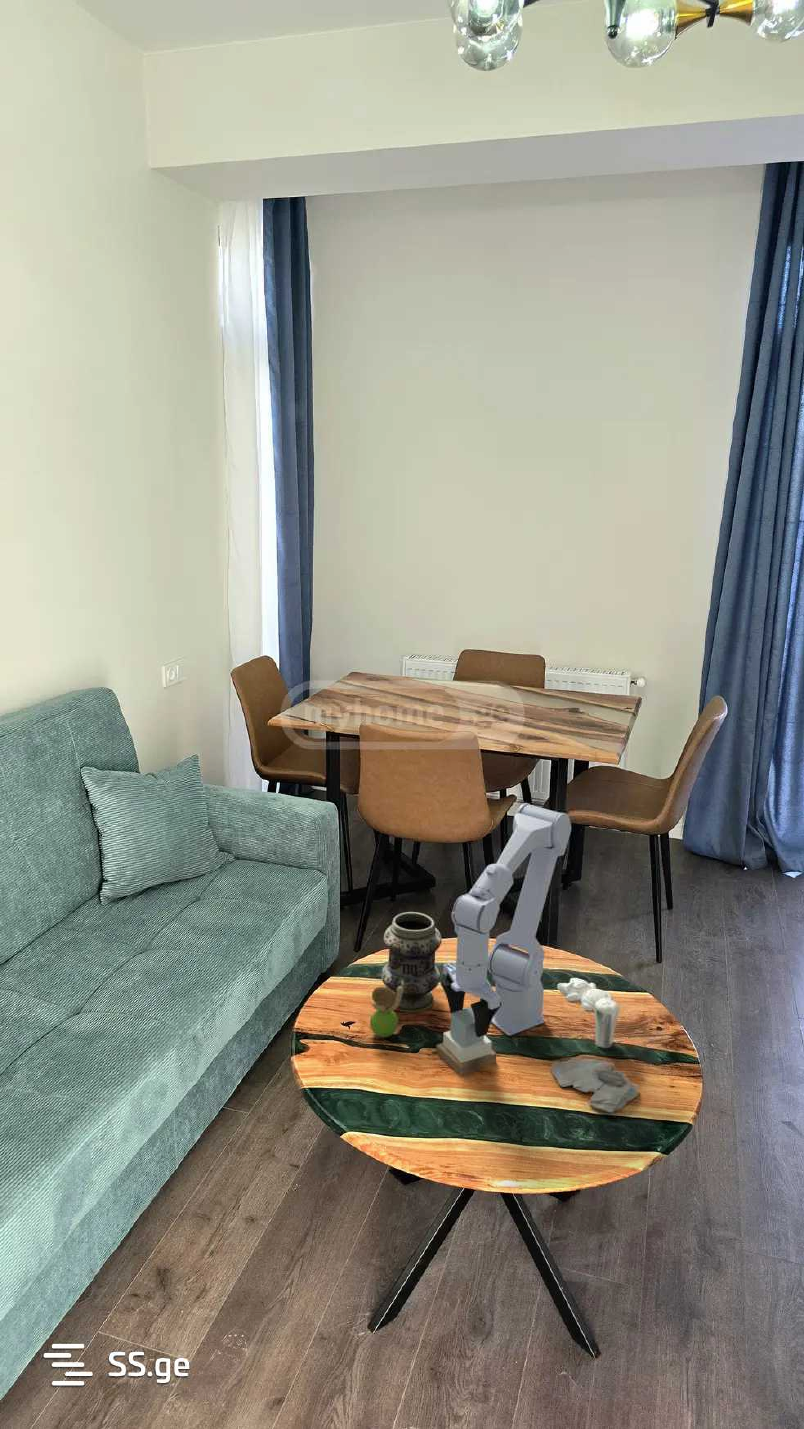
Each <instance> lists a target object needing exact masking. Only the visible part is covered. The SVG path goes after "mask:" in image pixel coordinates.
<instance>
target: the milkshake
mask: <svg viewBox="0 0 804 1429" xmlns="http://www.w3.org/2000/svg"><path fill="white" fill-rule="evenodd" d="M592 1000H593V999H592ZM593 1003H594V1001H593ZM594 1005H595V1011H594V1022H595V1024H594V1030H595V1031H594V1034H595V1035H594V1036H595V1038H594V1044H595V1045H596V1046H597V1047H599V1048H602V1049H610V1048H611V1047H613V1046H612V1045H613V1040H614V1036H615V1030H616V1025H617V1021H618V1020H617V1019H618V1016H619V1011H620V1006H619V1004H618V1003H617V1002H616V1001H615V1000H613V999H612V1000H611V999H607V998H601V999H600V1000H598V1001H597V1002H596V1003H595V1004H594Z"/></svg>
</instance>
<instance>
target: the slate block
mask: <svg viewBox="0 0 804 1429" xmlns="http://www.w3.org/2000/svg"><path fill="white" fill-rule="evenodd" d="M449 1031H450V1035H451V1036H452V1037H453V1038H455V1039H456V1040H457V1041H458V1042H459V1043H460V1044H461V1045H462V1046H464V1047H466V1046H469V1045H472V1044H474V1043H477V1042H480V1041H483V1040H484V1036H481V1037H477V1036H476V1033H475V1018H474V1013H473V1010H472V1008H471V1006H470V1007H469V1006H468V1007H467V1008H463V1010H460V1011H457V1012H454V1013H450V1030H449Z"/></svg>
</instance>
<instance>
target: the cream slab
mask: <svg viewBox="0 0 804 1429" xmlns="http://www.w3.org/2000/svg"><path fill="white" fill-rule="evenodd" d="M442 1038H443V1039H442V1040H443V1041H442V1043H443V1045H444V1046H445V1047H446V1048H447V1049H448V1050H449V1051H450V1052H451V1053H452V1054H453V1055H454V1056H455V1057H456V1058H457V1059H458V1060H459V1061H460V1063H464V1062H467V1061H470V1060H473V1059H476V1058H479V1057H482V1056H485V1055H488V1054H491V1049H492V1040H490V1039H489V1037H488V1036H486V1035H484V1040H483V1041H480V1042H477V1043H474V1044H472V1045H469V1046H466V1047H464V1046H462V1045H461V1044H460V1043H459V1042H458V1041H457V1040H456V1039H455V1038H453V1037H452V1036H451V1035H450V1030H448V1031H445V1032H443V1036H442Z"/></svg>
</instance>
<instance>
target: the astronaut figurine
mask: <svg viewBox="0 0 804 1429" xmlns="http://www.w3.org/2000/svg"><path fill="white" fill-rule="evenodd" d="M557 990H558V991H560V993H562V994H564V995H566V1001H568V1002H578V1001H580V1003H581V1008H583V1010H586V1011H589V1012H591V1011H593V1012H595V1005H594V1004H595V1003H596V1002H597V1001H598V1000H600V999H601V998H607V999H611V1000H613V998H612V994H610V993H609V992H608V991H607V992H606V991H605V990H602V989H599V988H597V985H596V984H595V983H593V982H588V981H586V980H584V979H582V978H581V979H580V978H579V977H572V978H570V979H569V982H568V983H567V982H563V983H562V982H560V983H558V984H557ZM592 999H593V1000H592ZM593 1001H594V1003H593Z"/></svg>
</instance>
